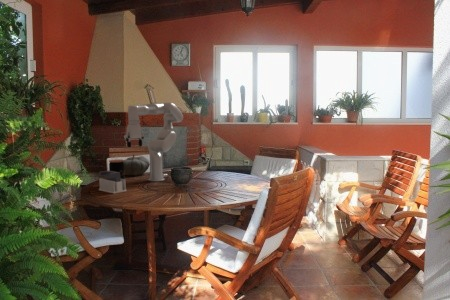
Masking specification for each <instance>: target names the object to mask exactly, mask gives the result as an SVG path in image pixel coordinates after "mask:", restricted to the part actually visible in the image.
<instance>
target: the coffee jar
mask: <svg viewBox="0 0 450 300" xmlns="http://www.w3.org/2000/svg"><path fill="white" fill-rule="evenodd" d="M124 160H125V159H121V158H120V159H117V158H116V159H110V160H108V162H109V164H108V171H114V172H120V179H126V175H124V163H123V162H124Z"/></svg>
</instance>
